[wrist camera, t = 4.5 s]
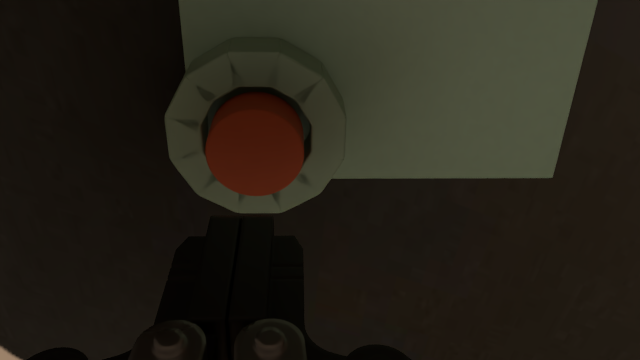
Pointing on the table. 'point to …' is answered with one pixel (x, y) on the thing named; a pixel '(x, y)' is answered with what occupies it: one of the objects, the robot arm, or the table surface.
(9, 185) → the table surface
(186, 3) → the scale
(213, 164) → the button
